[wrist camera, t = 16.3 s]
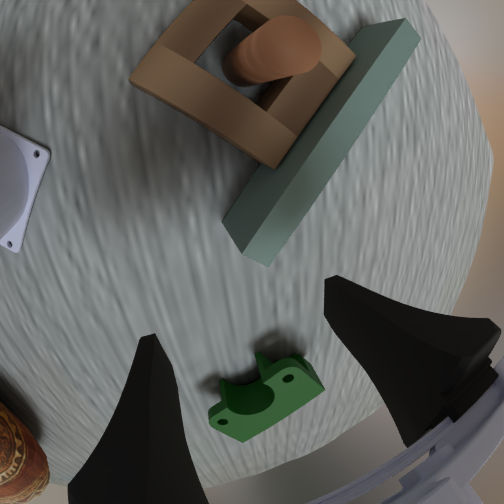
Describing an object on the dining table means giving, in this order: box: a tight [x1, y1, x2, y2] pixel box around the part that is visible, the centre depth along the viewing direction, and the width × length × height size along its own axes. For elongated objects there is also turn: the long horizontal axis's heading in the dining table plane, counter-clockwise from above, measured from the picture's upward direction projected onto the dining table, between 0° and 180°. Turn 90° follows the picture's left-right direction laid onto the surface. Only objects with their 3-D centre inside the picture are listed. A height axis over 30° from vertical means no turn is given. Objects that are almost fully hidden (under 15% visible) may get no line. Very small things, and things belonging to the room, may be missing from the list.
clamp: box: [208, 352, 325, 443], centre depth 27 cm, size 12×6×9 cm, turn 122°
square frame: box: [128, 0, 356, 170], centre depth 14 cm, size 10×10×3 cm
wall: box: [222, 18, 421, 267], centre depth 16 cm, size 2×20×5 cm, turn 144°
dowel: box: [223, 15, 322, 87], centre depth 12 cm, size 3×3×7 cm
